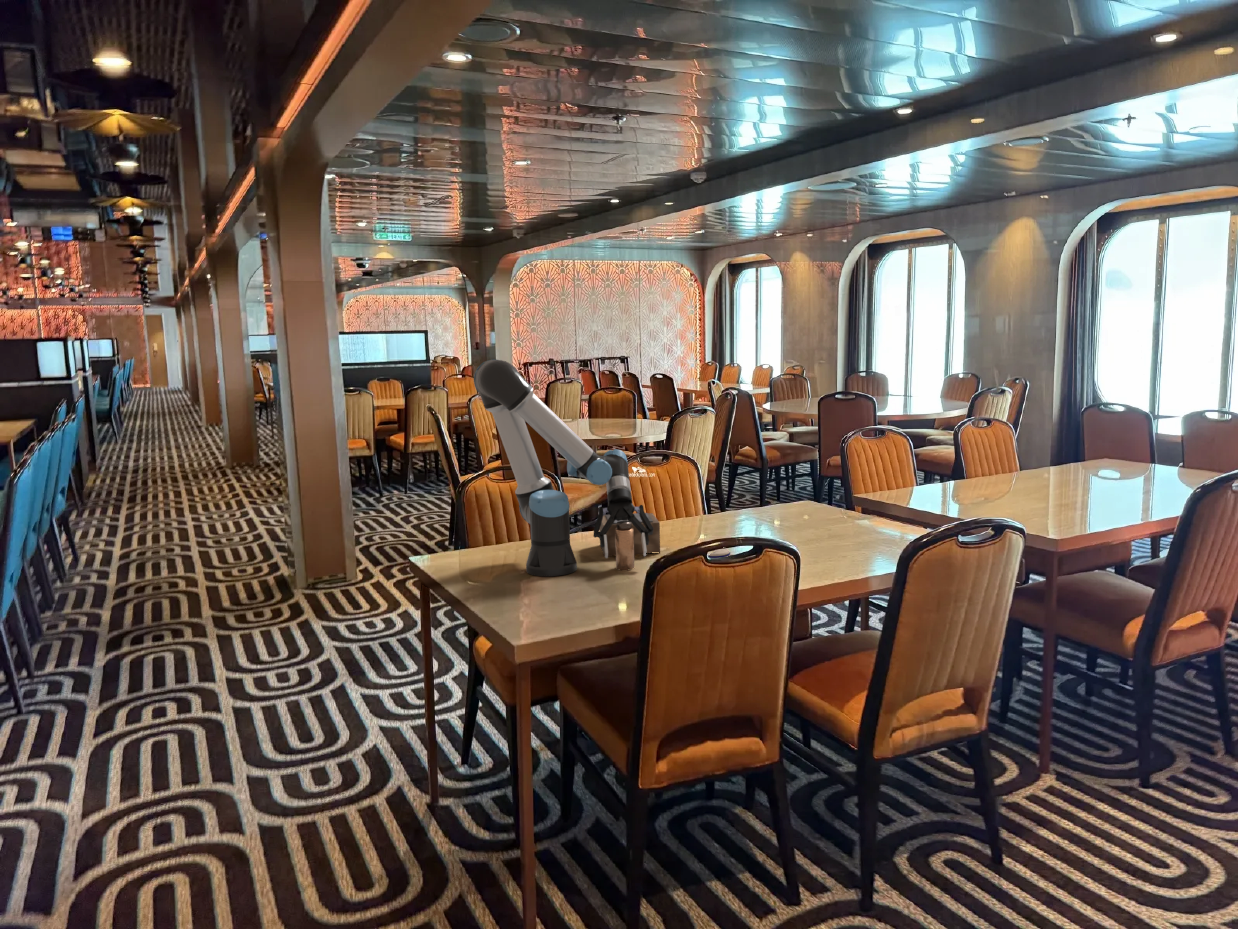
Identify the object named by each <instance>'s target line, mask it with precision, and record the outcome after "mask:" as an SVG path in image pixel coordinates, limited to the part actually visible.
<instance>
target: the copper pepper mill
mask: <svg viewBox="0 0 1238 929" xmlns="http://www.w3.org/2000/svg"><path fill="white" fill-rule="evenodd" d="M615 543H616V556H615V569H616V568H617V569H620V570H619V571H622V570H627V571H629V570H628V569H632V568H634V567H635V555H634V529H633V528H632V522H630V521H619V522H617V528H616V529H615ZM617 569H616V570H617ZM634 569H635V568H634Z"/></svg>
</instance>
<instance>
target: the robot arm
mask: <svg viewBox="0 0 1238 929" xmlns="http://www.w3.org/2000/svg"><path fill="white" fill-rule="evenodd" d="M473 385H474V387H475V389H476V391H477V393H479V396H480V399H481V403H482V404H483V407H484V409H485V410H486V411H487V412H489V413H491V414H492V417H493V420H494V423H495V425H496V428H497V431H498V433H499V436H500V440H501V443H502V446H503V448H504V451H505V453H506V457H507V459H508V461H509V464H510V467H511V470H512V473H513V475H514V479H515V481H516V485H517V487H516V489H515V491H514V492H515V496H516V499H517V501H518V505H519V506H518V508H519V513H520V515H521V517H522V518H523V520H524V521H525V522H526V523H528V525H529V527H530V549H529V553H528V556H527V559H526V563H525V566H526V567H525V569H526V570H525V571H526V573H527V574H529V575H531V576H538V577H559V576H566V575H569V574H573V573H574V572H576V571H577V569H578V566H577V565H578V563H577V559H576V556H575V554H574V551H573V548H572V545H571V530H570V529H571V526H570V502H569V496H568V495H567V494H566V492H563V491H561V490H556V489H554V486H553V483H552V480H551V479H550V478H548V477H546V476H545V475H544V472H543V469H542V467H541V464H540V461H539V458H538V456H537V455H538V454H537V453H536V449H535V447H534V444H533V441H532V438H531V435H530V432H529V430H528V426H527V424H528V425H529V426H530V427H531V428H532V429H533V430H534V431H535V432H536V433H538V435H540V436H541V437H542V438H543V440H544V441H546V442H547V443H548V444H549V445H550V446H551V447H552V448H554V450H556V451H557V452H558V453H559V454H560V455H561V456H562V457H563V458H565V460H566V461H567V463H566V471H567V474H568V475H569V476H571V477H575V478H583V479H584V480H587V481H588V482H590V483H591V484H592V485H596V486H597V485H598V486H602V485H605V484H606V485H605V487H606V495H607V507H603V506H598V517H597V518H596V519H597V520H596V522H595V525H594V529H593V537H594V538H598V539H599V546H600V548H601V547H604V550H605V556H604V558H605V559H608V558H609V556H608V546H607V536H606V533H607V532H608V530H609V528H610V527H611V525H612V524H613V523H614V521H615V520H617V521H620V520H627V519H628V521H630V522H632V524H633V525H634V526H635V527H636V528H637V529H638V531H639V532H640V533H641V534H642V536H641V540H642V548H643V554H642V555H643V557H646V556H647V554H646V553H647V549H646V545H648V544H649V537H648V535H652V534H653V527H652V525H651V523H650V521H649V519H648V518H647V516H646V514H645V513H646V512H645V510H644V505H643V504H639V506H635V505H634V504H633V498H632V488H631V482H630V474H629V463H628V458H627V455H626V453H625V452H624V451H623V450H621V449H616V448H614V449H613V450H612V449H610V450H608V451H606V452H605V453H604V454H603V455H598V453H597V452H595V451H594V450H593V448H592V447H590V446H589V445H588V444H587V443H586V442H585V441H584V440H583V439H582V438H581V437H580V436H579V435H578V434H577V433H576V432H575V431H574V430H572V429H571V428H570V426H568V424H566V422H564V421H563V420H562V419H561V418H560V417H559V416H558V415H557V414H556V413H555V412H554V411H553V410H552V409H551V408H550V407H549V406H548V405H546V403H545V402H543V401H542V400H541V399H540V398H539V397H538V396H537V395H536V394H535V393H534V387H533V386H532V385H531V384H530V383H529V382H528V381H527V380H526V379H525V378H524V377H523V375H521V374H520V372H519V371H518V369H517V368H516V367H515V366H514V365H513V364H511V363H509V362H508V361H505V360H502V359H494V358H493V359H489V360H486V361H483V362H482V363H481V364H480V365H478V367H477V368H476V371H475V372H474V376H473ZM526 423H527V424H526ZM634 512H636V513H638V514H639V516H640V518H641V520H642V522H643V524H644V525H645V527H646V528H645V527H644V526H643V525H642V524H641V522H640V521H639V520H638V519H637V518H636V517H635V515H634V514H633V513H634ZM606 513H607V514H608V515H610V517H609V519H608V521H607V522H606V524H605V525H604V527H603V528H602V530H601V532H600V526H601V523H602V519H603V516H604V515H607V514H606Z"/></svg>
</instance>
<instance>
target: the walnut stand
mask: <svg viewBox="0 0 1238 929" xmlns="http://www.w3.org/2000/svg"><path fill="white" fill-rule="evenodd" d="M633 514H634V515H635V517H636V518H637V519H638V520H639V521H640V522H641V524H642V525H643V526H644V527H645V525H644V524H643V522H642V520H641V518H640V516H639V514H638V513H637V512H636V513H634V512H633ZM645 514H646V516H647V518H648V519H649V521H650V523H651V525H652V527H653V534H652V535H648V537H649V544H648V545H646V549H647V553H652V552H659V554H661V530H660V529H661V528H660V527H661V526H660V524H661V523H660V521H659V519H658V518H657V517H656V516H655V515H654V513H652V512H651V513H650V512H649V513H648V512H645ZM609 517H610V514H605V515H604V516H603V519H602V523H601V526H600V529H599V532H601V530H602V528H603V527H604V525H605V524H606V522H607V521H608V519H609ZM620 521H628V519H627V520H620ZM617 522H619V521H617V520H615V521H614V523H613V524H612V525H611V527H610V528H609V530H608V532H607V533H606V536H607V546H608V557H613V556H612V555H616V543H615V529H616V528H617ZM632 528H633V529H634V556H635V555H636V554H639V555H643V548H642V540H641V536H642V534H641V533H640V532H639V531H638V529H637V528H636V527H635V526H634V525H633V524H632ZM645 528H646V527H645ZM600 548H601V549H600V550H601V551H603V552H602V554H603V557H605V550H604V547H601V546H600Z"/></svg>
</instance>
